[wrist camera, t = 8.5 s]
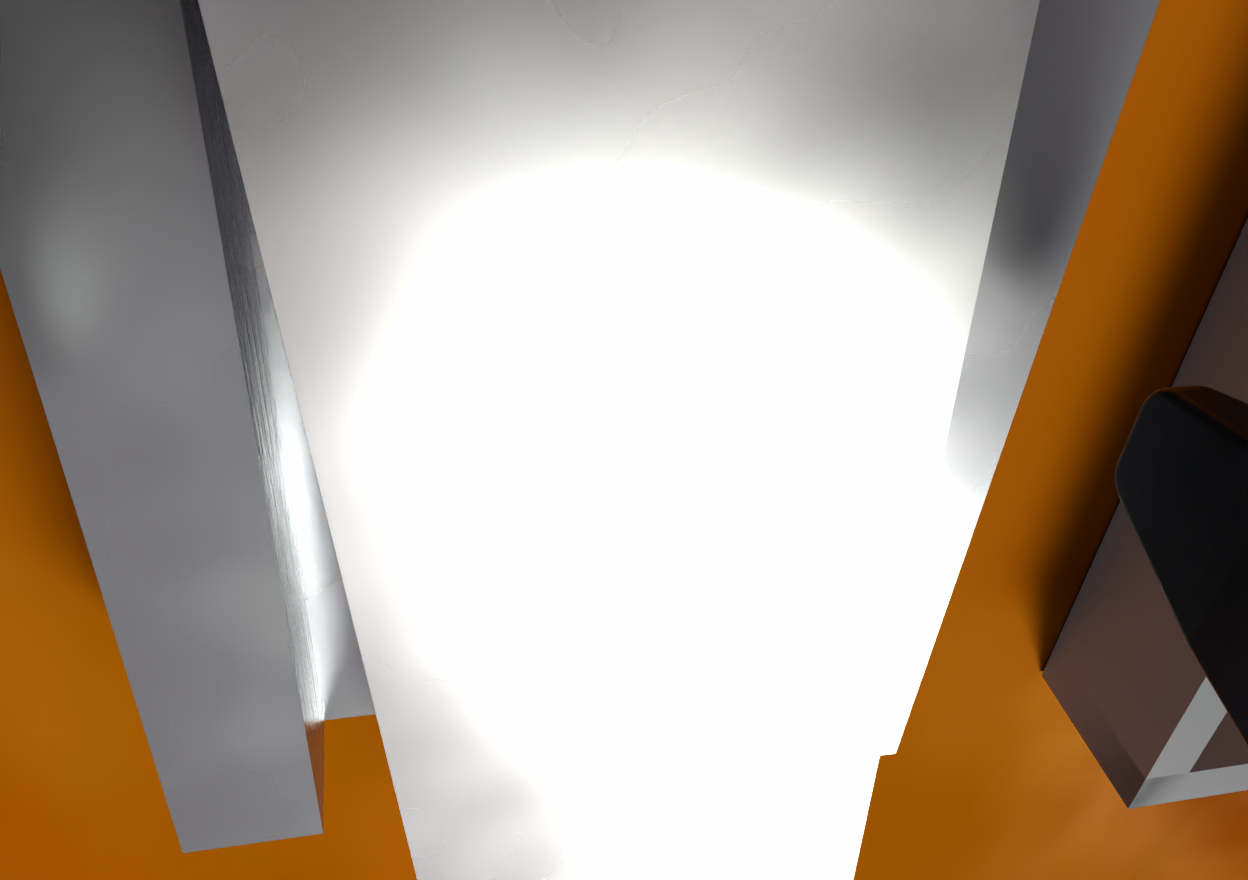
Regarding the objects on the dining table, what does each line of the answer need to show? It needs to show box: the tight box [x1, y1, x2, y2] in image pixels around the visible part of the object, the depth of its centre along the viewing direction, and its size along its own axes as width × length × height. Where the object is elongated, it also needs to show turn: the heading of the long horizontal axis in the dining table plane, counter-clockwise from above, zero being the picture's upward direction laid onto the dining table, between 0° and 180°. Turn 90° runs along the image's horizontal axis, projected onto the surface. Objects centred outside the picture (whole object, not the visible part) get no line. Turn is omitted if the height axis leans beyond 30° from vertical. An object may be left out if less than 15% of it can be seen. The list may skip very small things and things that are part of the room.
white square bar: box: [198, 0, 1040, 880], centre depth 9 cm, size 4×16×4 cm, turn 1°
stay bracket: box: [0, 0, 1160, 853], centre depth 10 cm, size 8×12×2 cm
